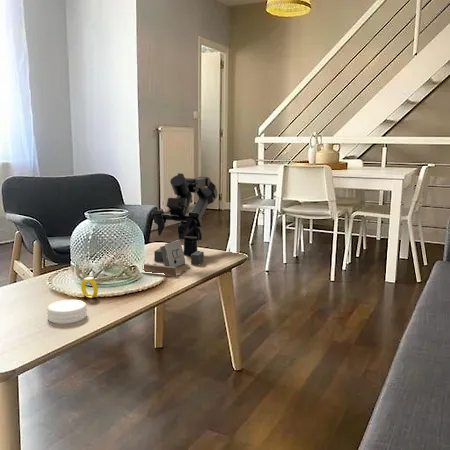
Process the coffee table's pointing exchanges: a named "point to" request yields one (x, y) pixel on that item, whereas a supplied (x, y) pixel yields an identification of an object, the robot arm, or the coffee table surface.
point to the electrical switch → (173, 254)
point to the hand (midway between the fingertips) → (170, 236)
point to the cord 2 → (197, 258)
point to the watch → (95, 288)
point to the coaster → (66, 311)
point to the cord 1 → (158, 255)
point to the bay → (162, 269)
